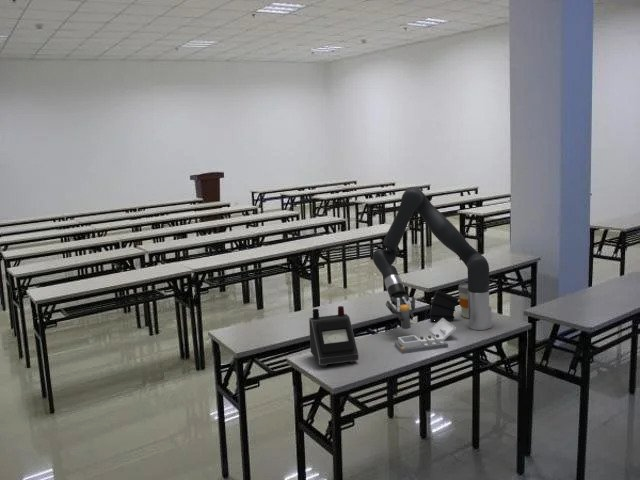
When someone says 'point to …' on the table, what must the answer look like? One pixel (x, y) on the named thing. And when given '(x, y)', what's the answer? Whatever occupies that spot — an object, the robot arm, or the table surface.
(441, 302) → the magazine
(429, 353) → the table surface
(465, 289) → the reusable coffee cup
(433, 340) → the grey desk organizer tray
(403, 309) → the lockout plug
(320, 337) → the voltmeter
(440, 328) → the light switch
